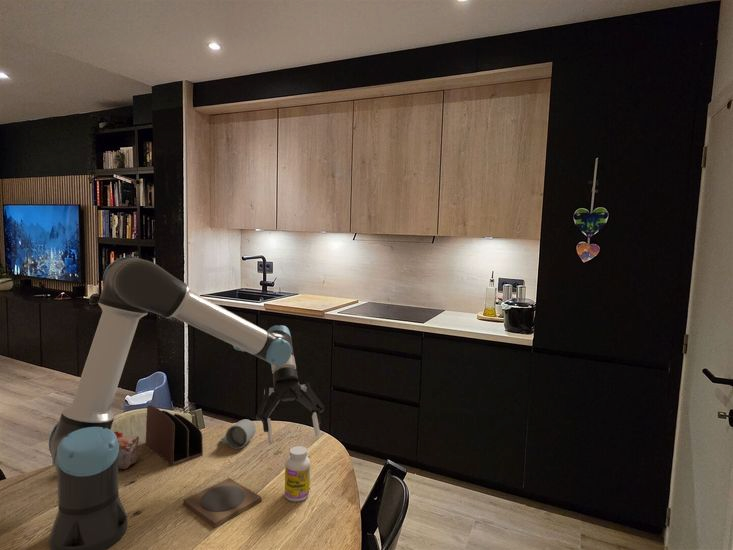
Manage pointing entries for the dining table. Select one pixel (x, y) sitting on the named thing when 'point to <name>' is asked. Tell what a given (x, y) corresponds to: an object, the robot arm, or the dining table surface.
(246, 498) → the dock plate
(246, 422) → the ceramic mug
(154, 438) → the letter holder
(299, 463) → the supplement bottle
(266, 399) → the robot arm
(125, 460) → the food item
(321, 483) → the dining table surface
